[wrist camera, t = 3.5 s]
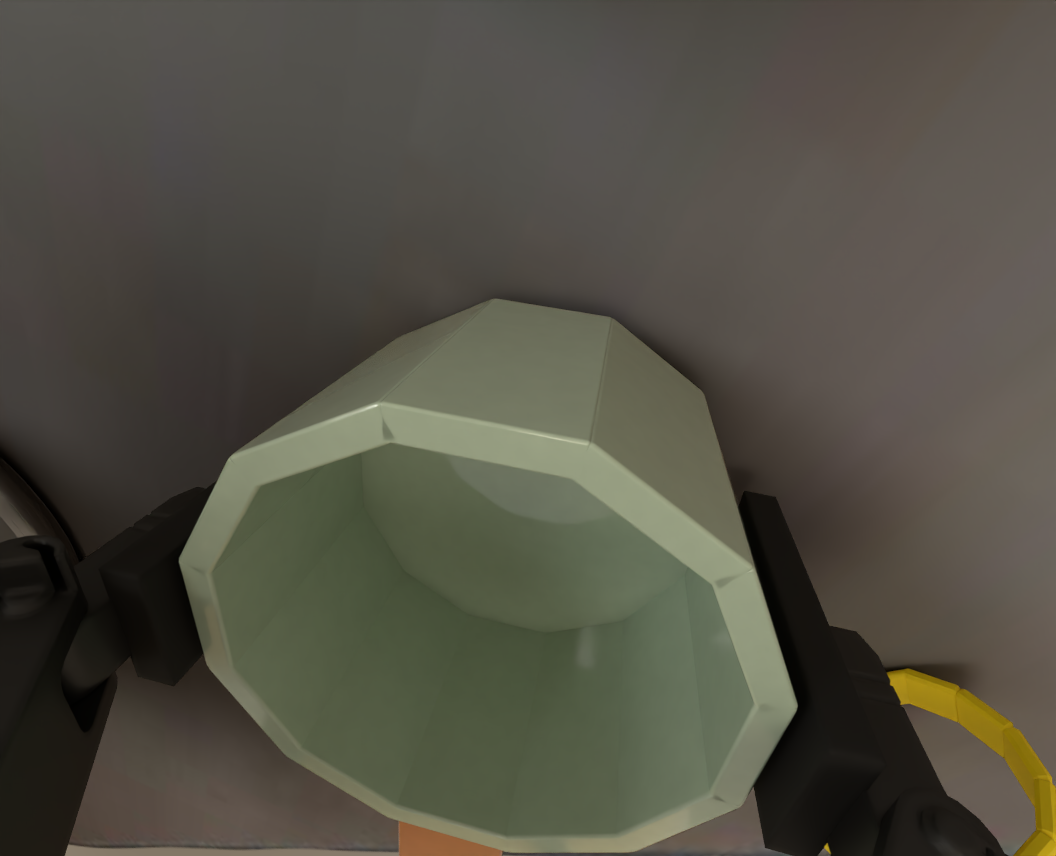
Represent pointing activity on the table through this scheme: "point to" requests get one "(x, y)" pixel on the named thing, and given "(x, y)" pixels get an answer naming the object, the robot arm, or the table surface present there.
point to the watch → (1052, 847)
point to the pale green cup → (498, 591)
